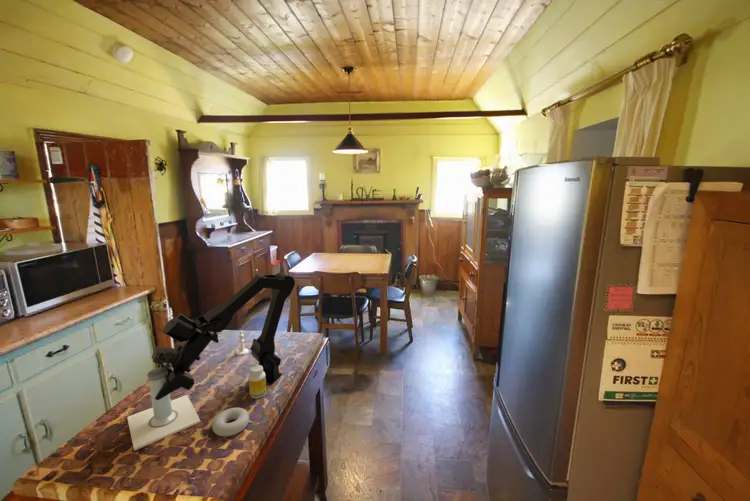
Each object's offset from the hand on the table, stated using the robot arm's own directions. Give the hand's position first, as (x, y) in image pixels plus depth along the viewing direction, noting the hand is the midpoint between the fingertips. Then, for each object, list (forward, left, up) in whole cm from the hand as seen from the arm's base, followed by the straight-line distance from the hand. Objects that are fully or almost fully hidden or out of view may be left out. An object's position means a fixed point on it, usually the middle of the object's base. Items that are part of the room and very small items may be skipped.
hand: (154, 395), depth 94 cm
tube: (-1, -1, -7) cm, 7 cm away
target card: (-1, -1, -9) cm, 9 cm away
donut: (-21, -6, -9) cm, 24 cm away
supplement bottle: (-19, -21, -9) cm, 30 cm away
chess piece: (+5, -42, -9) cm, 43 cm away
